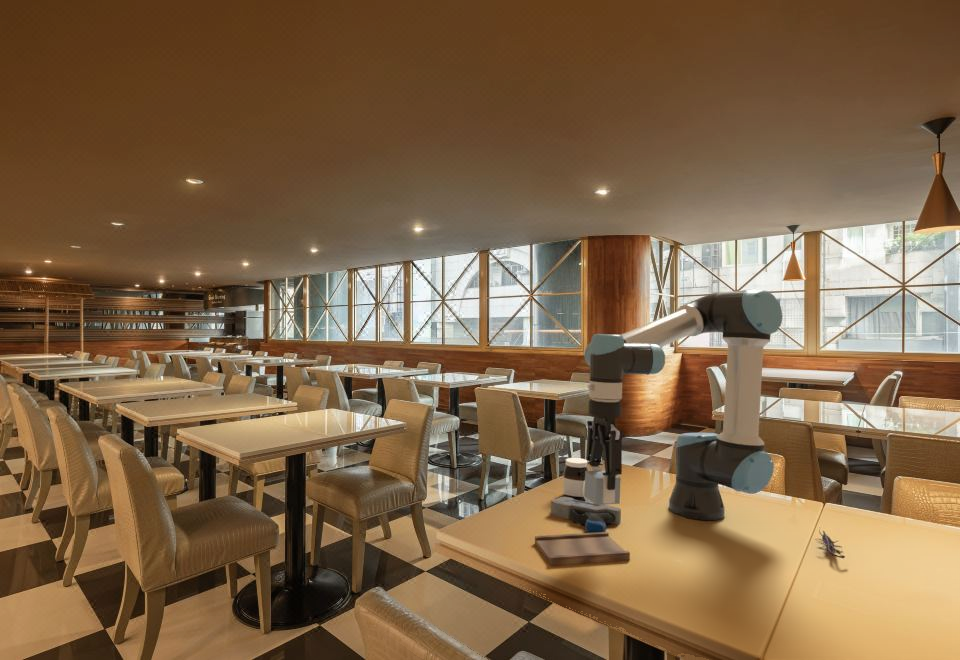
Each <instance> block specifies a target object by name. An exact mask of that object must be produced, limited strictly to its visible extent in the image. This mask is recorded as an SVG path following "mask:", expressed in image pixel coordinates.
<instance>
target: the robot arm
mask: <svg viewBox="0 0 960 660" xmlns="http://www.w3.org/2000/svg"><path fill="white" fill-rule="evenodd" d="M782 321H783V311H782V307H781V304H780V303H779V301H778V299H777V298H776V296H774V294H773V293H771V292H769V291H768V290H764V289H763V290H762V289H747V290H746V289H744V290H734V291H732V290H731V291H720V292H713V293H711V294H707V295H704V296H702V297H698V298H696V299H694V300H691V301H690V302H687V303H685V304H683V305H680V306H679V307H678V308H677V310H676V311H675V312H672V313H670V314H668V315H665V316H662V317H661V318H658V319H655V320H653V321H651V322H649V323H648V322H647V323H646V324H643V325H642V326H638V327H636V328H634V329H631V330H629V331H627V332H623V333H621V334H607V333H596V334H593V335H592V336H591V341H590V343H588V345H587V346H586V348H585V349H584V360H585V363H586V364H587V365H588V366H589V385H588V386H587V388H588V391H589V392H588V397H589V398H591V399H589V400H588V411H587V412H588V415H589V416H591V417H593V418H592V419H593V420H587V422H586V424H587V435H586V436H587V440H586V453H585V454H586V455H585V460H587V461H588V464H589V466H590V468H589V469H590V470H589V471H603V465H604V471H605V473H602V474H603V499H602V503H604V504H605V505H609V504H608V503H615V479H616V475H617V476H620V475H622V472H623V471H622V469H623V467H622V466H623V464H622V463H623V462H622V460H623V458H622V455H623V451H622V449H623V447H622V446H623V445H622V444H623V442H622V441H623V438H624V431H623V430H618V429H617V423H616V420H617V419H619V418H621V417H622V404H623V403H622V402H621V400H622V399H623V377H624V375H647V376H648V375H654V374H659V373H660V372H661V371H662V370H663V369H664V367H665V364H666V355H665V352H664V349H663V348H662V347H665V346H667V345H669V344H672V343H674V342H676V341H679V340H680V339H683V338H685V337H687V336H689V337H696V336H699V335H703V334H707V333H722V335H721V336H722V340H723V341H724V342H725V343H726V344H727V354H726V355H727V356H726V357H727V358H726V372H725V373H726V374H725V390H724V393H725V394H724V407H723V408H724V410H723V424H722V425H723V426H722V432H721V433H719V434H718V433H713V432H686V433H680V434H679V435H678V436H677V438H676V446H675V484H674V486H673V489H672V491H671V494H670V497H669V501H668V509H669V510H670V511H671V512H672V513H675V514H676V515H678V516H681V517H685V518H688V519H692V518H693V519H694V520H698V519H700V520H701V521H717V519H718V520H721V519H723V518H725V512H726V511H725V505H724V502H723V498H722V495H721V493H720V490H719V489H720V488H719V485H721V486H724V487H725V488H726V487H727V488H730V489H732V490H734V491H736V492H739V493H746V494H749V495H754V494H758V493H760V492H762V491H763V490H764V489H765V488H766V487H767V486H768V485H769V483H770V482H771V479H772V478H773V474H774V470H775V466H774V461H773V458H772V455H770V454H769V453H768V452H767V451H765V442H764V441H763V439H762V438H761V437H760V436H759V430H760V429H759V428H760V413H761V411H760V410H761V396H762V395H761V394H762V379H763V378H762V376H763V360H764V348H765V346H766V345H767V344H768V343H770V342H771V335H772V334H774V333H776V332H777V331H779V329H780V327H781V325H782ZM602 457H603V462H602ZM603 463H604V464H603ZM700 520H699V521H700Z"/></svg>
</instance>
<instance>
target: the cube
mask: <svg viewBox="0 0 960 660" xmlns="http://www.w3.org/2000/svg"><path fill="white" fill-rule="evenodd" d="M602 473H605V470H602V471H590V470H588V471H585V492H584V496H585V497H586V498H587V499H589V500H590V501H591V502H593V503H594V504H595V505H602V504H604V503H602V499H603V474H602ZM621 480H622V479H621V477H620V476H619V475H616V479H615V503H608V504H607V505H620V500H621V499H620V498H621Z"/></svg>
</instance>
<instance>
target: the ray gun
mask: <svg viewBox="0 0 960 660" xmlns="http://www.w3.org/2000/svg"><path fill="white" fill-rule="evenodd" d="M550 515H551V516H553V517H556V518H561V519H566V520H572V523H578V524H581V525H584V528H585V531H586V532H585V533H597V532H607V524H612V525H616V526H617V525H619V526H620V525H621V522H622V521H621V520H622V519H621V516H622V510H621V508H620V507H617V506H614V505H613V506H612V505H610V504H602V505H595V504H594V503H589V502H587V501H585V500H583V501H579V500H574V499H573V498H569V497H564V496H560V497H558V498H555V499H553V500H551V501H550Z"/></svg>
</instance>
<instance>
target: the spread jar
mask: <svg viewBox="0 0 960 660" xmlns="http://www.w3.org/2000/svg"><path fill="white" fill-rule="evenodd" d="M588 463H589V461H587V460H586V458H580V457H568V458H565V467H564V470H563V476H562V477H563V484H562V494H563V497H569V498H573V499H574V500H579V501H585V502H589V503H593V502H591V501H590V500H589V499H587V498H586V497H585V496H584V492H585V471H589V467H588Z"/></svg>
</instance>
